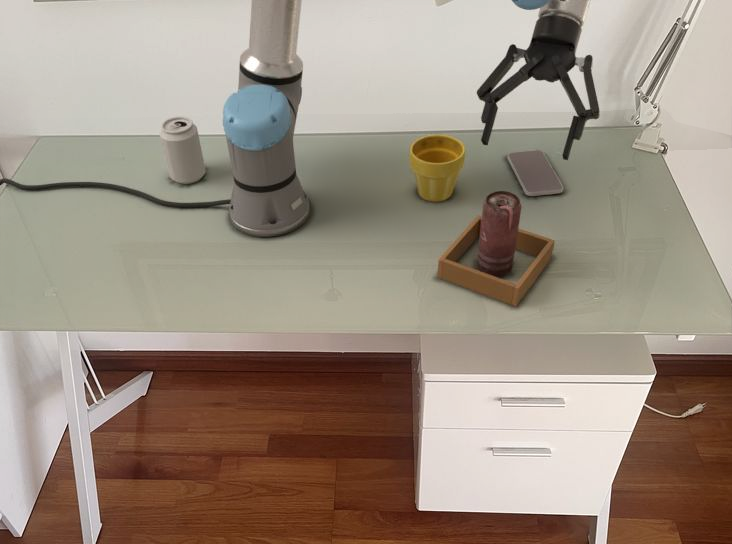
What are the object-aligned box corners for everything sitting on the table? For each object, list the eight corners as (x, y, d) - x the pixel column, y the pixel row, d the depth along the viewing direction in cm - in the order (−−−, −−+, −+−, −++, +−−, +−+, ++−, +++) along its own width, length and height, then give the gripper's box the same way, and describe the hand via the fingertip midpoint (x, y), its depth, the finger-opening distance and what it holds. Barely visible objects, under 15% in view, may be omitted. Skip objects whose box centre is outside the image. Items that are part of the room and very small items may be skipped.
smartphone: (541, 149, 156) (565, 189, 145) (541, 153, 156) (564, 193, 146) (506, 152, 155) (527, 193, 145) (505, 156, 156) (526, 197, 145)
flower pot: (459, 209, 144) (463, 164, 137) (405, 205, 146) (406, 161, 139) (464, 179, 151) (467, 135, 144) (412, 176, 153) (413, 132, 146)
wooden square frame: (437, 277, 130) (438, 259, 128) (476, 233, 139) (477, 214, 136) (515, 306, 124) (518, 288, 121) (551, 258, 132) (555, 240, 130)
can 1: (213, 171, 157) (203, 119, 149) (190, 190, 153) (178, 136, 145) (186, 162, 161) (174, 110, 152) (162, 180, 156) (149, 127, 148)
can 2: (491, 284, 129) (499, 216, 119) (469, 263, 133) (476, 196, 123) (520, 272, 130) (531, 204, 120) (498, 252, 134) (506, 185, 124)
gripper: (482, 3, 125) (447, 130, 126) (639, 23, 117) (600, 158, 118) (489, 23, 132) (456, 143, 133) (637, 42, 124) (600, 170, 125)
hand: (523, 150), depth 126 cm, fingers open, 13 cm apart
